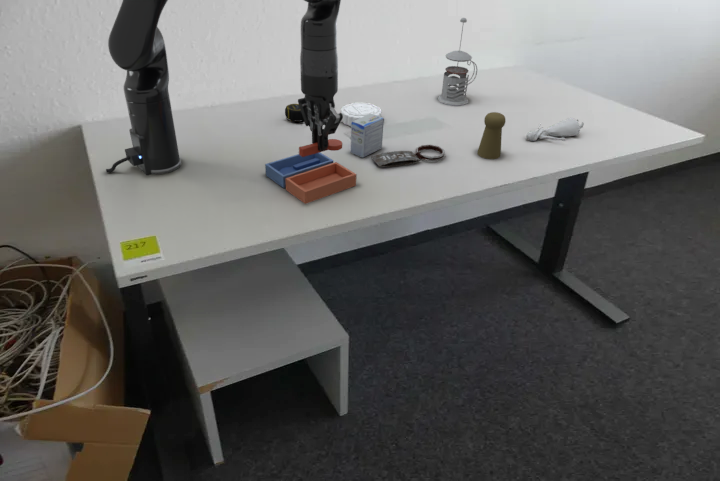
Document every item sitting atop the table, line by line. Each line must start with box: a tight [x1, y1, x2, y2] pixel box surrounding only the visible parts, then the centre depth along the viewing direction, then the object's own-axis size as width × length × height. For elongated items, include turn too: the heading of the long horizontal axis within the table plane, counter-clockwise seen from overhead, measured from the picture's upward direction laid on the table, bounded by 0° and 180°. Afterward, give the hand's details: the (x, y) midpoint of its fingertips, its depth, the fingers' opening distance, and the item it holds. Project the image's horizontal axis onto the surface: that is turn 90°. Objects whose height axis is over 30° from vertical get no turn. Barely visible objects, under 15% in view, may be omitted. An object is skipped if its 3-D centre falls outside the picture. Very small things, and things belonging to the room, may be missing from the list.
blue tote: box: [264, 152, 334, 189], centre depth 131 cm, size 14×8×3 cm, turn 129°
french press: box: [437, 17, 478, 106], centre depth 170 cm, size 10×12×25 cm
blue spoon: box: [280, 158, 320, 175], centre depth 131 cm, size 11×4×2 cm, turn 130°
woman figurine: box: [525, 117, 585, 142], centre depth 154 cm, size 12×4×18 cm
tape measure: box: [284, 103, 308, 122], centre depth 159 cm, size 7×7×4 cm
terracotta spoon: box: [298, 138, 343, 157], centre depth 121 cm, size 11×4×2 cm, turn 129°
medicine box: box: [350, 114, 385, 159], centre depth 141 cm, size 8×4×9 cm, turn 141°
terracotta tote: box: [285, 161, 357, 205], centre depth 126 cm, size 14×8×3 cm, turn 129°
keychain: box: [370, 144, 446, 168], centre depth 140 cm, size 8×19×2 cm, turn 110°
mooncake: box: [339, 102, 383, 127], centre depth 160 cm, size 12×12×4 cm
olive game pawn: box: [476, 111, 506, 160], centre depth 141 cm, size 6×6×11 cm
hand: (320, 148), depth 121 cm, fingers closed on terracotta spoon, 1 cm apart
